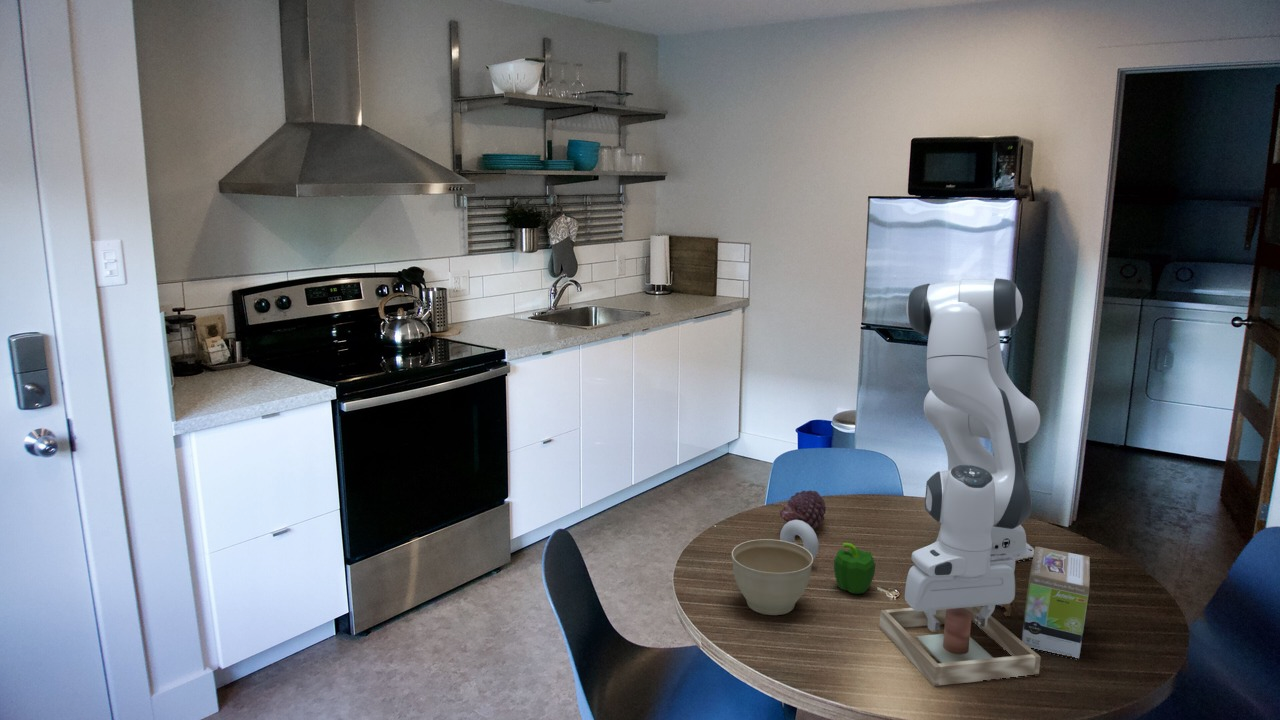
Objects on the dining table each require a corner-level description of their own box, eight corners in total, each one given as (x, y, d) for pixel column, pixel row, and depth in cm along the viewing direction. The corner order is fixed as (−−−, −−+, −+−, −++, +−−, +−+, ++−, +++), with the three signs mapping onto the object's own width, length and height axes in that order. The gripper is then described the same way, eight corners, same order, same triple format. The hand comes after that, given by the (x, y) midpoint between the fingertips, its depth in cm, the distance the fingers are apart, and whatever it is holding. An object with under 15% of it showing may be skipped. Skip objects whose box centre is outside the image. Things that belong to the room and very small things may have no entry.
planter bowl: (762, 579, 181) (764, 532, 179) (825, 606, 170) (829, 555, 168) (713, 603, 170) (715, 553, 168) (778, 633, 159) (781, 580, 157)
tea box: (1080, 662, 151) (1090, 585, 148) (1020, 647, 155) (1028, 573, 152) (1081, 625, 164) (1090, 554, 161) (1025, 612, 168) (1033, 543, 165)
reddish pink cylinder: (959, 640, 156) (963, 606, 155) (973, 653, 152) (976, 617, 151) (938, 642, 156) (941, 607, 154) (951, 655, 151) (954, 619, 150)
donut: (820, 567, 187) (823, 525, 185) (810, 572, 185) (813, 529, 183) (785, 553, 195) (787, 512, 193) (775, 557, 192) (777, 516, 190)
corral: (973, 618, 165) (975, 602, 165) (1038, 675, 146) (1040, 656, 146) (879, 627, 162) (880, 610, 161) (933, 686, 142) (935, 667, 142)
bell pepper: (880, 588, 178) (884, 544, 176) (861, 601, 172) (864, 556, 170) (845, 576, 183) (848, 533, 181) (825, 588, 177) (828, 544, 175)
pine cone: (804, 514, 219) (806, 477, 217) (839, 523, 212) (842, 486, 210) (769, 534, 205) (771, 496, 203) (806, 545, 199) (808, 505, 197)
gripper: (1005, 545, 155) (998, 614, 158) (903, 553, 152) (897, 623, 154) (1026, 560, 149) (1018, 631, 152) (921, 568, 146) (915, 641, 148)
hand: (957, 627), depth 153 cm, fingers open, 8 cm apart
